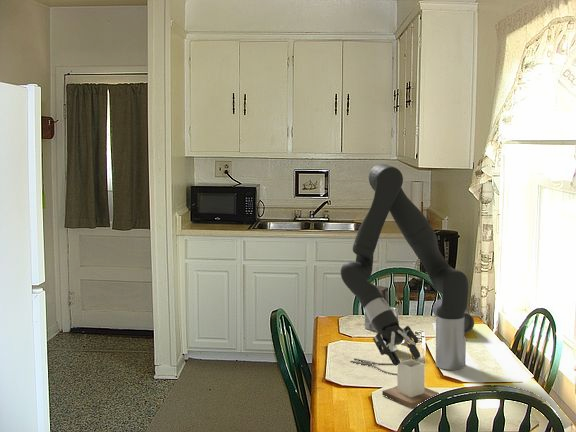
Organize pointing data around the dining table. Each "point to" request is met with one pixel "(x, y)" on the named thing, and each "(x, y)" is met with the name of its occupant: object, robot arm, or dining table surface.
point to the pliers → (373, 365)
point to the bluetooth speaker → (467, 317)
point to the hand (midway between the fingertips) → (408, 361)
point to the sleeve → (411, 378)
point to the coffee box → (386, 296)
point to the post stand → (408, 400)
